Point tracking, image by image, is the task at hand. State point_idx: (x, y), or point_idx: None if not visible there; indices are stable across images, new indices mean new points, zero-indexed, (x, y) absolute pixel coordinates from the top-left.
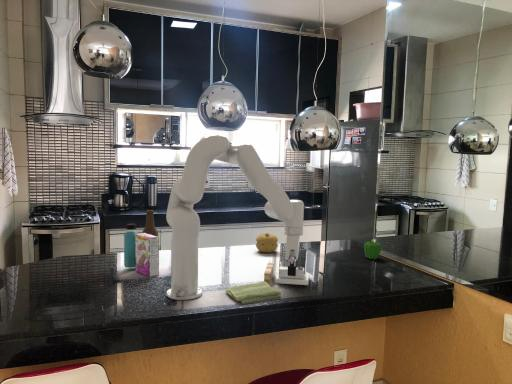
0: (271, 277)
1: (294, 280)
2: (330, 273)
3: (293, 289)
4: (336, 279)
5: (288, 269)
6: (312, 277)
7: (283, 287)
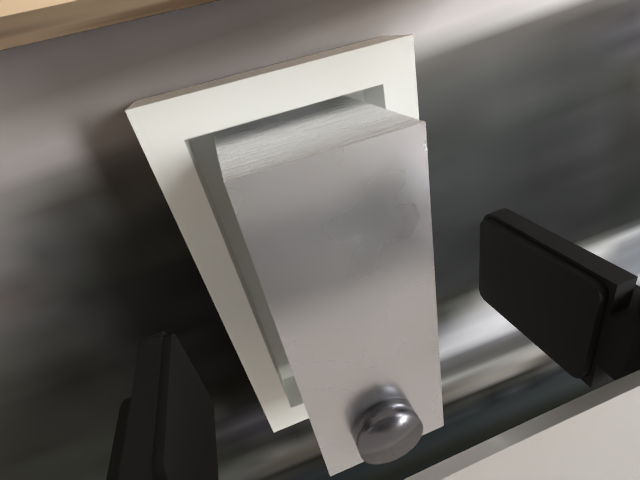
0: (174, 3)
1: (228, 333)
2: (572, 383)
3: (47, 364)
4: (460, 451)
5: (136, 426)
6: (473, 339)
7: (31, 257)
